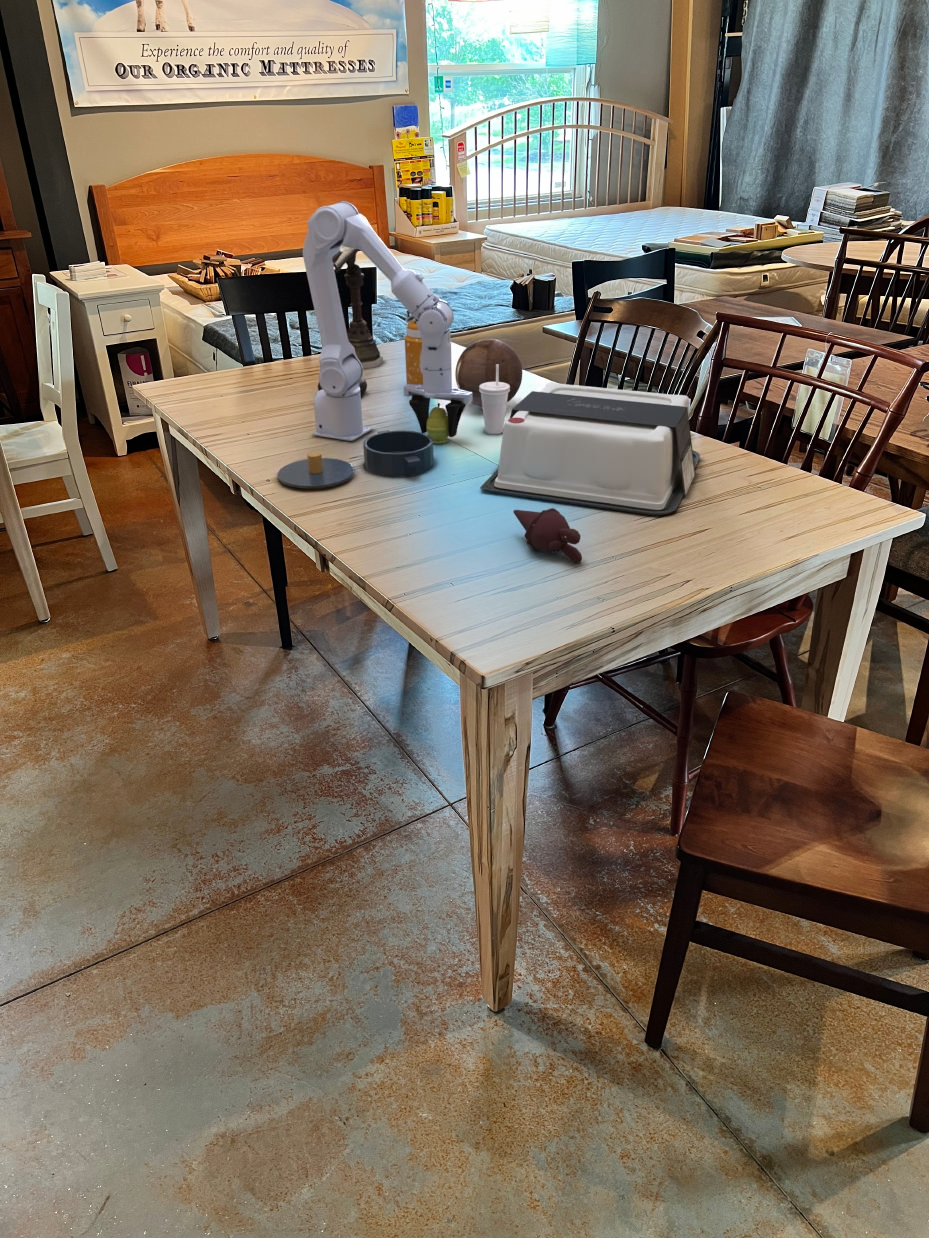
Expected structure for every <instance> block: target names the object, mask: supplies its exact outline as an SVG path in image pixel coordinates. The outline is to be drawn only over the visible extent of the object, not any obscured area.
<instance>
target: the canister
mask: <svg viewBox="0 0 929 1238" xmlns="http://www.w3.org/2000/svg"><path fill="white" fill-rule="evenodd" d="M406 315H407V318H405V320H404V322H405V323H406V324H407V325H406V335H405V336H404V358H405V375H406V376H405V377H406V379H405V380H406V385H408V384H412V385H423V363H422V334H421V333H420V331H419V330H418V328H417V323H416V322H417V321H418V320H417V319H416V318H414V317H413V316H412V315H411V313H410V312H409V311H408V310H407V309H406Z"/></svg>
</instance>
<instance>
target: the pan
mask: <svg viewBox="0 0 929 1238" xmlns="http://www.w3.org/2000/svg"><path fill="white" fill-rule="evenodd" d="M362 443H363V444H362V446H363V447H362V449H363V459H364V460H363V462H364V467H365V469H366V470H367V471H368V472H369V473H371V474H374V475H377V476H381V477H389V478H403V477H412V476H416V475H419V474H423V473H425V472H427V471H429V470H430V469H431V468H432V467H433V466H434V443H433V440H432V438H431V437H430V436H428V434H427V433H421V431H420V432H419V431H414V430H404V429H403V430H390V429H387V430H379V431H377V433H375V434H372V435H370V436H368V437H366V438H365V439H364V441H363V442H362Z"/></svg>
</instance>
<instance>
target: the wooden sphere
mask: <svg viewBox="0 0 929 1238" xmlns="http://www.w3.org/2000/svg"><path fill="white" fill-rule="evenodd" d="M497 364H498V365H499V382H503V383H507V384H508V385H509V386H510V391H509V392H508V398H507V403H509V402H510V401H511V400H513V398H514V397H515V396H516V394H517V393H518V392H519V389H520V387H521V384H522V381H523V366H522V362H521V359H520V357H519V355H518V353H517V352H516V351H515V349H513V347H512V346H511V345H510V344H507V343H505V342H504V341H502V340H499V339H495V338H484V339H479V340H477V341H473V342H472V343H471V344H469V345H468V346H466V348H464V350H463V351H462V353H461V354H460V355H459V357H458V360H457V361H456V366H455V371H454V372H455V375H454V376H455V383H456V385H457V389H460V390H464V391H468V392H472V402H471V403H470V404H471V405H473V406H475V407H477V408H481V409H483V406H482V399H481V392H480V391H479V386H480V385H481V384H483V383H486V382H496V365H497Z"/></svg>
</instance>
